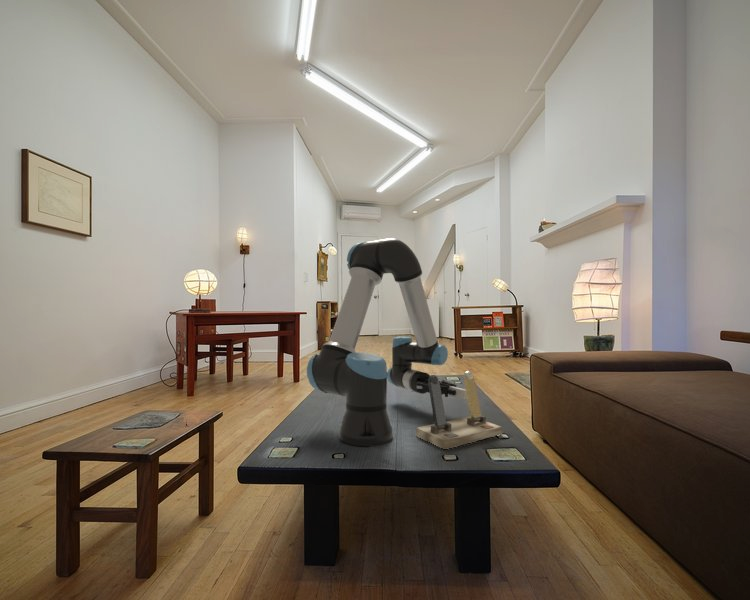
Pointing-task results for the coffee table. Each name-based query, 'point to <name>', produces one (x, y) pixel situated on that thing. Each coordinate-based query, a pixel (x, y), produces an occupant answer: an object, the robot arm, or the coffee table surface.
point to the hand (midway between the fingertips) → (465, 394)
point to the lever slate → (437, 402)
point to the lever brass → (472, 396)
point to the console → (458, 432)
